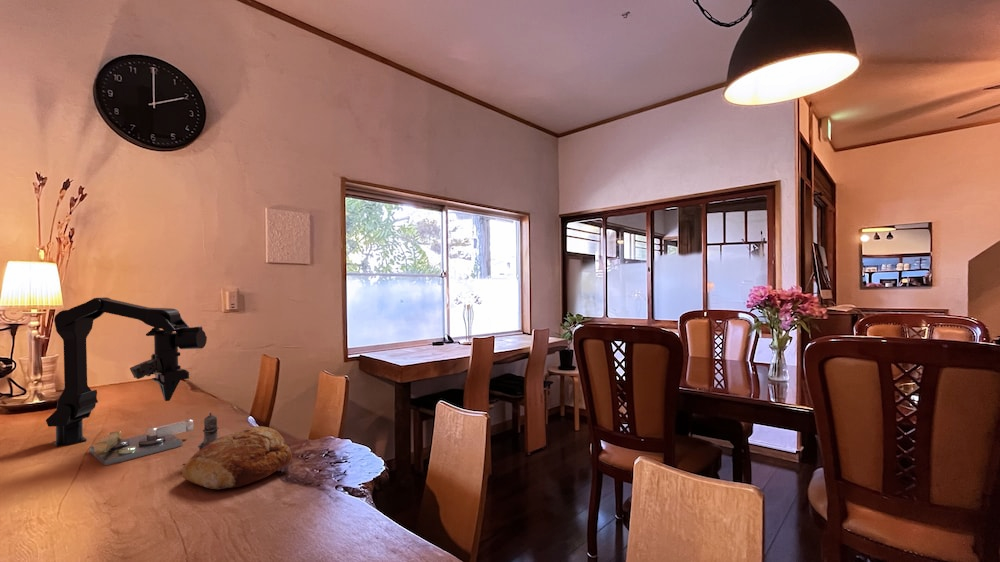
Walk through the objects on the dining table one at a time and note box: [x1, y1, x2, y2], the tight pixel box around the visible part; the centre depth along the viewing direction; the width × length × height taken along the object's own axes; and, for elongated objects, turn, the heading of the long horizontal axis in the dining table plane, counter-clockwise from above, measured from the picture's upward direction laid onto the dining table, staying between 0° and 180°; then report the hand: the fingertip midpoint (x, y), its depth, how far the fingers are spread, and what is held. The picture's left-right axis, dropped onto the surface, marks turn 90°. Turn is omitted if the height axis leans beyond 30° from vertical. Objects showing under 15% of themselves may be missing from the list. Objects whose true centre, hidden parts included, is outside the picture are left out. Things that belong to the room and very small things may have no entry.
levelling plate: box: [89, 433, 184, 467], centre depth 124 cm, size 16×17×2 cm
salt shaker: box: [197, 412, 219, 451], centre depth 118 cm, size 6×6×12 cm
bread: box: [181, 425, 293, 490], centre depth 107 cm, size 20×18×10 cm
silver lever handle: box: [139, 418, 194, 446], centre depth 128 cm, size 13×6×4 cm, turn 144°
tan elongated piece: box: [93, 430, 129, 456], centre depth 119 cm, size 13×6×4 cm, turn 23°
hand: (167, 400), depth 134 cm, fingers closed
